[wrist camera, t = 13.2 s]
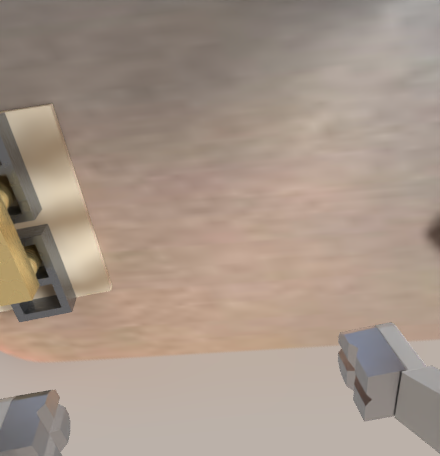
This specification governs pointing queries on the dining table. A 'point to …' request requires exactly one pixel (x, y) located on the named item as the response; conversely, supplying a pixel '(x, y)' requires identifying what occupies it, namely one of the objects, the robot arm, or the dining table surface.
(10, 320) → the dining table surface
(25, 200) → the chain ends
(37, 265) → the tan bar
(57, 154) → the chain board
